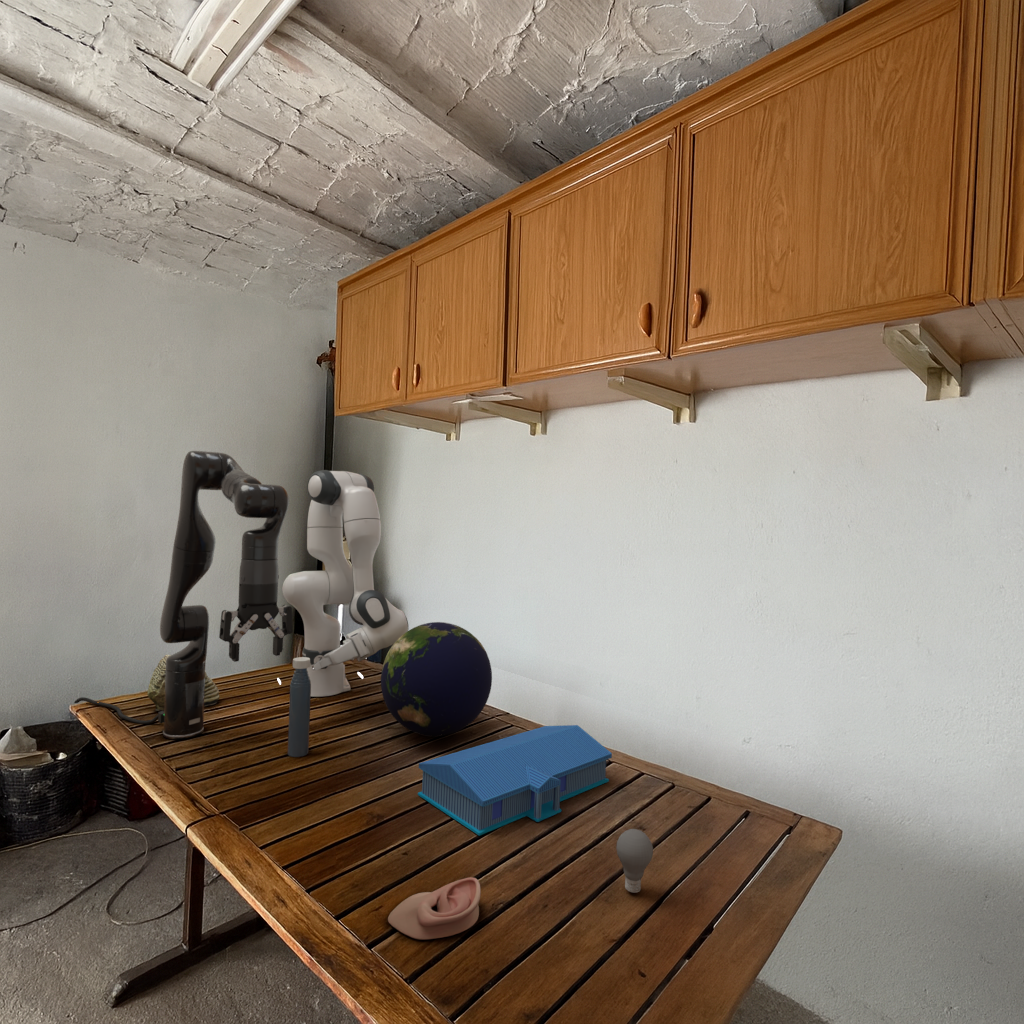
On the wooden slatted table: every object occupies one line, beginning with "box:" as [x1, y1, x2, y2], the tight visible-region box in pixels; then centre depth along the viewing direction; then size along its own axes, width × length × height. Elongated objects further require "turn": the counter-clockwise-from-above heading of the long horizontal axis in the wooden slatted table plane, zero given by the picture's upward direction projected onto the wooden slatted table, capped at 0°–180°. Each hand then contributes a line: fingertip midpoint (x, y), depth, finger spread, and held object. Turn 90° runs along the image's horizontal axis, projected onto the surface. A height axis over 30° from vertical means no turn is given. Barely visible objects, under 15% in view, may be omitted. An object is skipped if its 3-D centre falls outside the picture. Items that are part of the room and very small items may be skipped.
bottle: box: [287, 668, 312, 758], centre depth 155 cm, size 5×5×23 cm
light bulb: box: [615, 828, 654, 894], centre depth 106 cm, size 6×6×10 cm
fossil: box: [147, 654, 221, 712], centre depth 185 cm, size 9×18×15 cm, turn 132°
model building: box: [417, 724, 613, 837], centre depth 140 cm, size 39×24×10 cm, turn 132°
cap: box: [292, 656, 310, 669], centre depth 155 cm, size 4×4×2 cm
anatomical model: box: [387, 877, 482, 940], centre depth 97 cm, size 13×4×12 cm
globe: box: [380, 621, 493, 737], centre depth 172 cm, size 30×30×30 cm
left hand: (256, 657), depth 132 cm, fingers open, 8 cm apart
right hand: (313, 668), depth 182 cm, fingers open, 8 cm apart
